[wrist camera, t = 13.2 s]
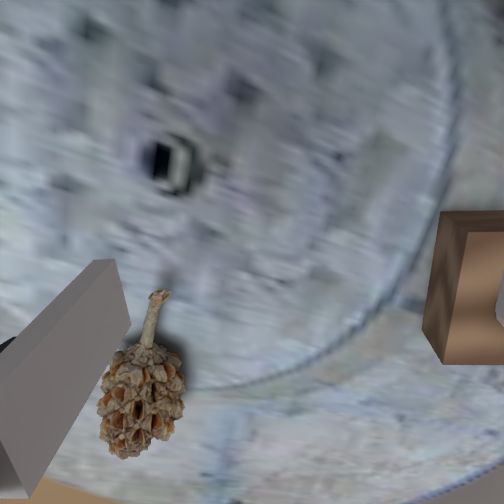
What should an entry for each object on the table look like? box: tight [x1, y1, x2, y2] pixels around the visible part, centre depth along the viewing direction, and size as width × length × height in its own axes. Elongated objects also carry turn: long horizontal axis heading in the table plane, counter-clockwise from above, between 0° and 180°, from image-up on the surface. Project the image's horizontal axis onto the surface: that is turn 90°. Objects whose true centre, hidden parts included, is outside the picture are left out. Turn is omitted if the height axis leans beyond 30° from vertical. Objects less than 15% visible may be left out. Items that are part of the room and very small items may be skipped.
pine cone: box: [97, 289, 186, 460], centre depth 42 cm, size 22×10×10 cm, turn 172°
